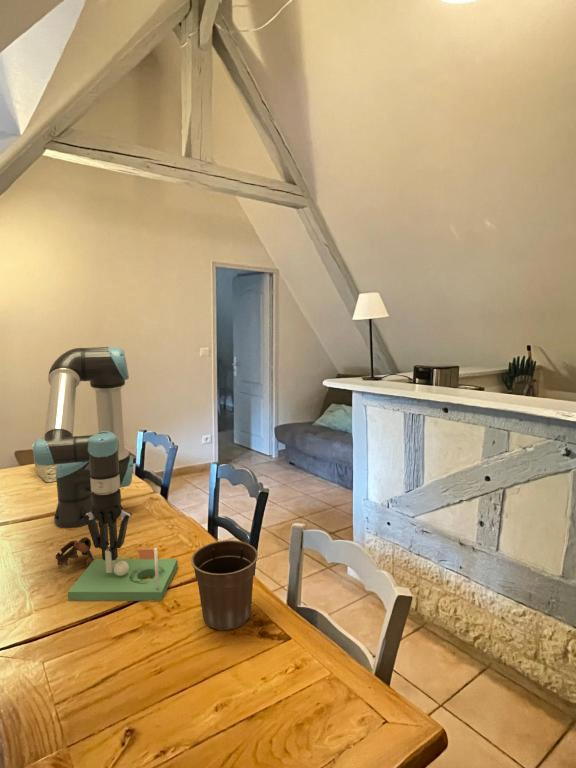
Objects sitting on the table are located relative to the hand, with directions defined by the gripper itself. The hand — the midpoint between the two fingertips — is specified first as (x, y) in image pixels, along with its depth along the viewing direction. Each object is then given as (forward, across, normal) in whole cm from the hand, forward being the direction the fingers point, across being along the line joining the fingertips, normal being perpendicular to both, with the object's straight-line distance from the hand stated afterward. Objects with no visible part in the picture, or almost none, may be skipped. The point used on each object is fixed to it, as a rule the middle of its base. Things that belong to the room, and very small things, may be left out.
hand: (110, 570), depth 130 cm
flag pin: (+4, +13, -7) cm, 15 cm away
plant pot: (+4, +35, -14) cm, 38 cm away
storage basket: (+4, -63, +91) cm, 111 cm away
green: (+4, +4, 0) cm, 6 cm away
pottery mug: (+4, -15, +11) cm, 19 cm away
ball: (-1, +3, 0) cm, 3 cm away
